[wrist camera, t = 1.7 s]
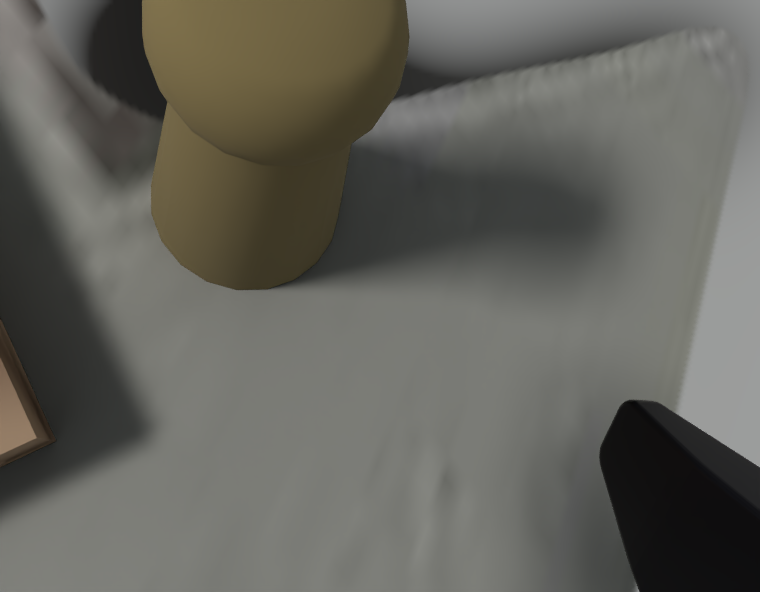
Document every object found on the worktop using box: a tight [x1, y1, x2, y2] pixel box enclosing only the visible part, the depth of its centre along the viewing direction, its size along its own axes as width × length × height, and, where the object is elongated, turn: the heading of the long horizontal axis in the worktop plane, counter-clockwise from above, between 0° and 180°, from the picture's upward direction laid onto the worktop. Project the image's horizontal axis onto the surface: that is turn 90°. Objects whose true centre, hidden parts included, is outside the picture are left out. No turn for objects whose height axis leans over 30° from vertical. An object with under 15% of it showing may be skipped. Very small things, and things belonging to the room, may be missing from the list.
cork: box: [142, 0, 409, 290], centre depth 17 cm, size 6×6×11 cm
